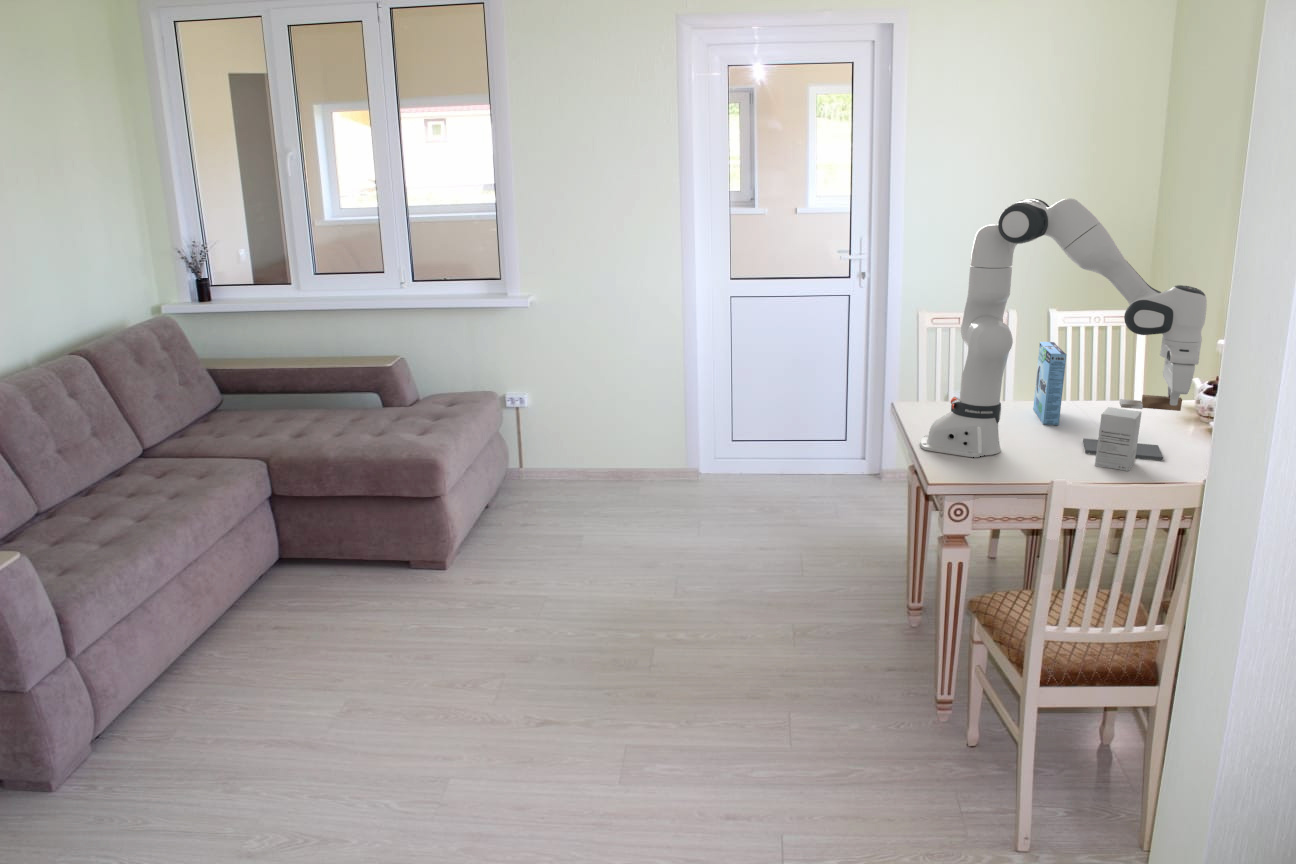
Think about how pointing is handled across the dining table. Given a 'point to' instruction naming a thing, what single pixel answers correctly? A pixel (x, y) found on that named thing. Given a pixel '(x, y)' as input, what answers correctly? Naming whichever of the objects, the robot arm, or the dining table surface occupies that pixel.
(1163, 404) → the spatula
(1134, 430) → the supplement box
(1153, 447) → the tool mat
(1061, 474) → the dining table surface
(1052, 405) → the gum box
